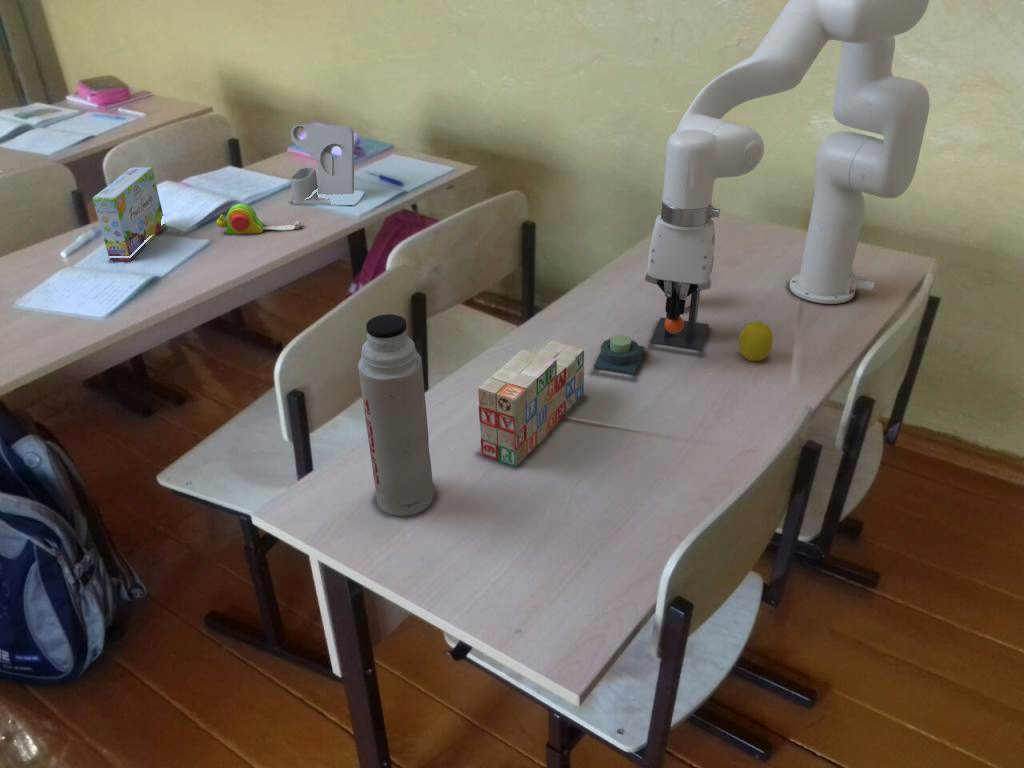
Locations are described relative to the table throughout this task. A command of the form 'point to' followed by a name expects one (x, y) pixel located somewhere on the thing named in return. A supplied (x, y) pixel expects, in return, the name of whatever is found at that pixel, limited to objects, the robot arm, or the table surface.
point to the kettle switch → (674, 325)
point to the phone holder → (324, 163)
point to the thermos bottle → (396, 417)
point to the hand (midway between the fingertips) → (674, 316)
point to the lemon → (755, 341)
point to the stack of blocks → (528, 400)
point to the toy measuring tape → (247, 221)
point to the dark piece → (619, 359)
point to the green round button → (620, 344)
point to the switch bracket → (689, 334)
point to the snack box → (129, 212)
